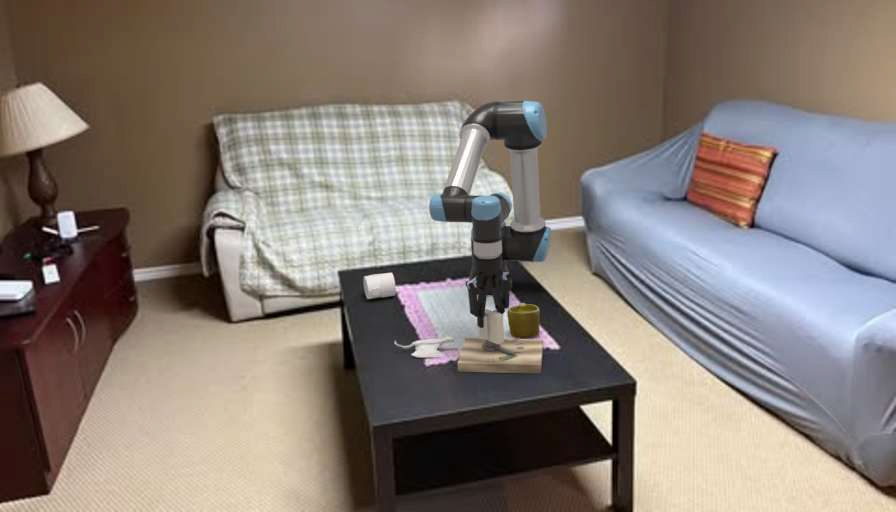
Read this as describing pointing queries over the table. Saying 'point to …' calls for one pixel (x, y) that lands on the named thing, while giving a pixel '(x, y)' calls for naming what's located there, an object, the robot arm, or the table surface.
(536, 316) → the mug
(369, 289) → the white cylinder
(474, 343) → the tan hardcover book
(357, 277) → the table surface
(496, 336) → the white upright block
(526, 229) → the robot arm
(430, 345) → the winged dragon toy
